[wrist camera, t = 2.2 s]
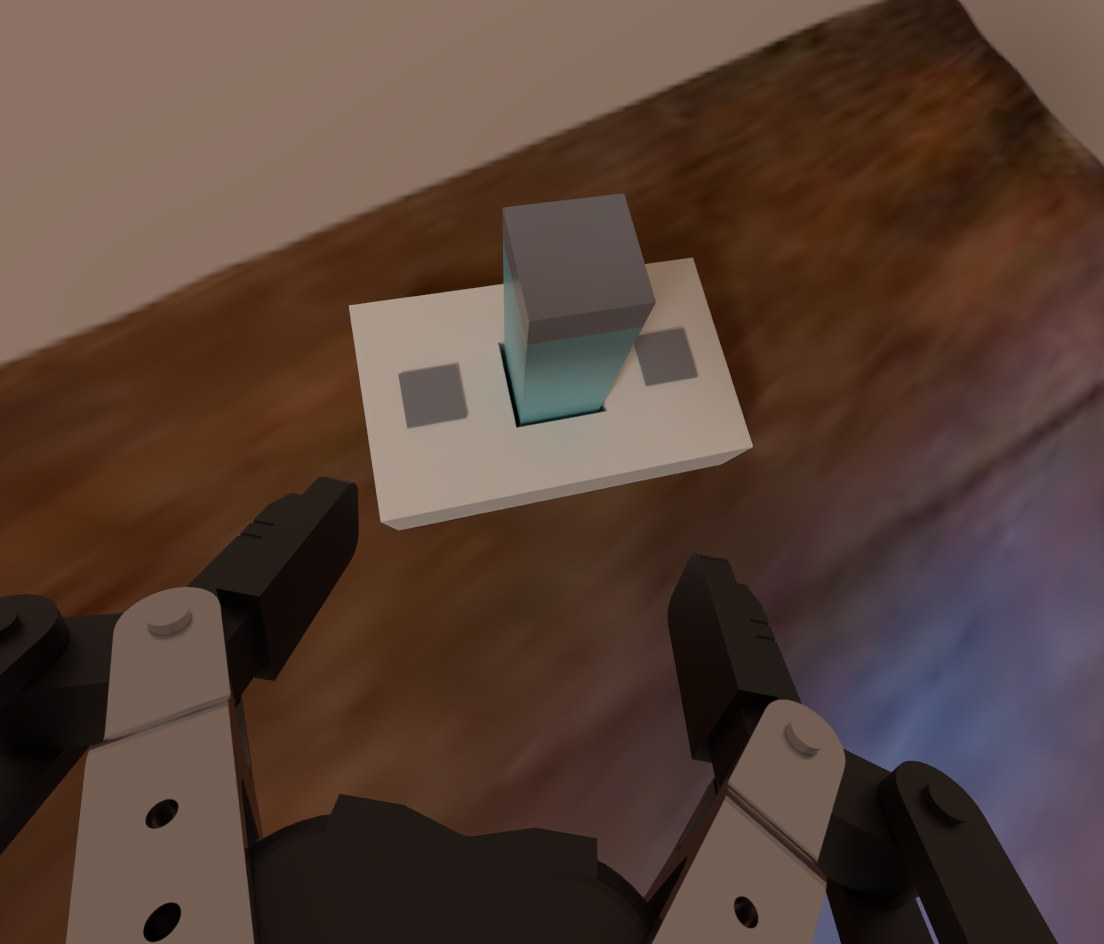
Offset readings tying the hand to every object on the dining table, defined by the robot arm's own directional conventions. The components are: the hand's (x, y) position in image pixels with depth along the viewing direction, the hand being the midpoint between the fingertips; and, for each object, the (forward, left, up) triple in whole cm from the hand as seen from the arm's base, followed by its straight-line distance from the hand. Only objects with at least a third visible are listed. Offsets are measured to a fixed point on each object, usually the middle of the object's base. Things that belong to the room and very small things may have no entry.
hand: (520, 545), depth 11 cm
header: (-4, -9, -17) cm, 19 cm away
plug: (-4, -9, -17) cm, 19 cm away
